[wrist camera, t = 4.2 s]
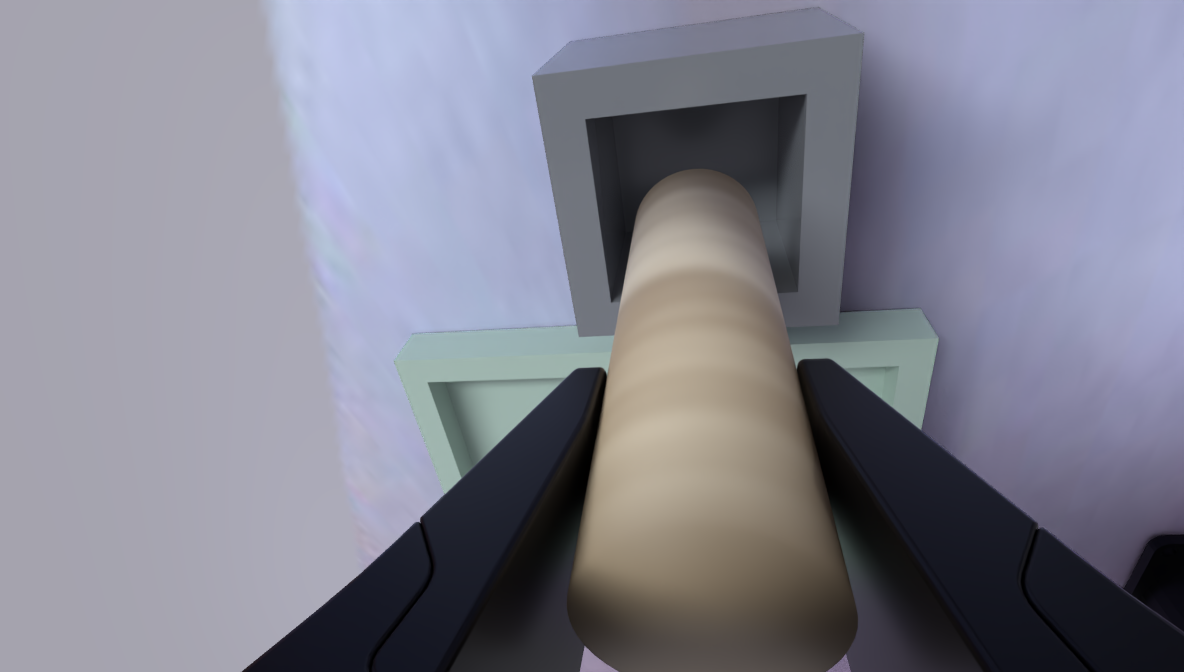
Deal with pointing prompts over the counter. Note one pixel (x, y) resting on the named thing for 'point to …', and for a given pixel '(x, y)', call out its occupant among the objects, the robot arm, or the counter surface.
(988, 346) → the counter surface
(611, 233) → the grey square sleeve
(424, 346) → the tray
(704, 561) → the dowel pin
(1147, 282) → the counter surface
